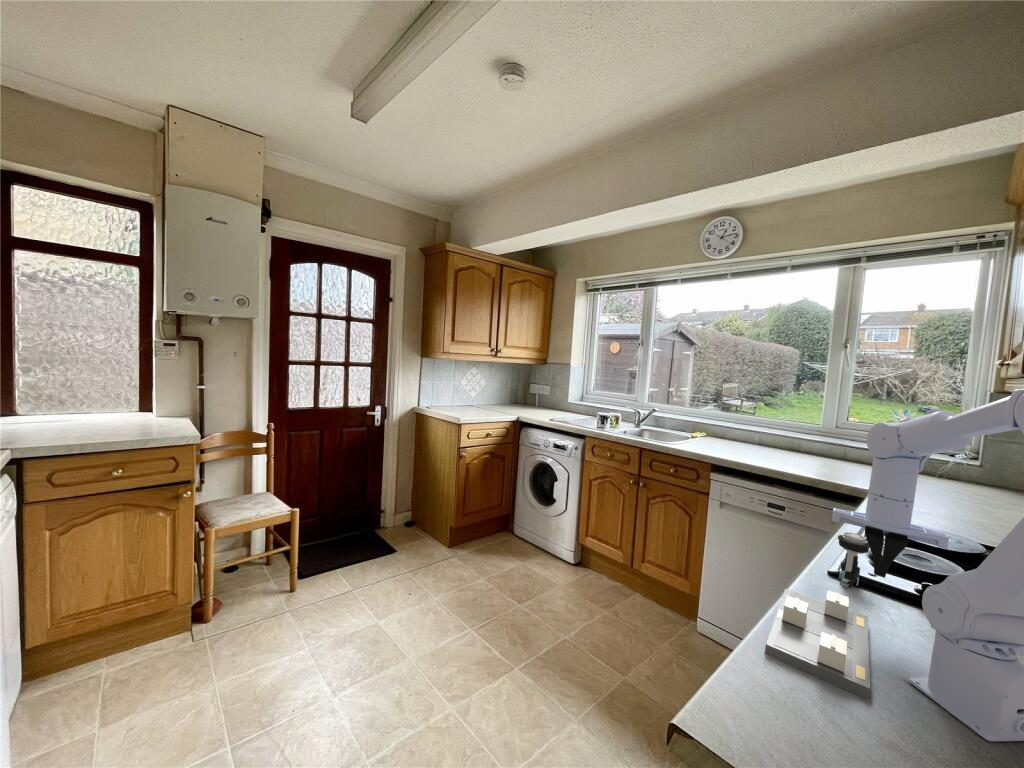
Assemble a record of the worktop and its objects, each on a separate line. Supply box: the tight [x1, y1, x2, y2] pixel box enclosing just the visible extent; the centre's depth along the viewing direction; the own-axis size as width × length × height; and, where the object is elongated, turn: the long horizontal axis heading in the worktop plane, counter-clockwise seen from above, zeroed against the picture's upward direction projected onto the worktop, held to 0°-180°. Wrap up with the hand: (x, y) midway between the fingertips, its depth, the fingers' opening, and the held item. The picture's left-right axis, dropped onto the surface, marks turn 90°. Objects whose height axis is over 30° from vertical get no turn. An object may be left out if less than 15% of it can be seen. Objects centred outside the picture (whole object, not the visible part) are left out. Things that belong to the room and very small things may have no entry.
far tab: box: [824, 590, 850, 621], centre depth 73 cm, size 4×3×3 cm
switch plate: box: [764, 588, 871, 700], centre depth 68 cm, size 22×12×2 cm, turn 141°
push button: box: [837, 531, 870, 588], centre depth 87 cm, size 7×5×10 cm
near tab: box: [817, 632, 847, 672], centre depth 61 cm, size 4×3×3 cm
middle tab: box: [782, 596, 808, 628], centre depth 70 cm, size 4×3×3 cm
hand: (879, 574), depth 72 cm, fingers closed
